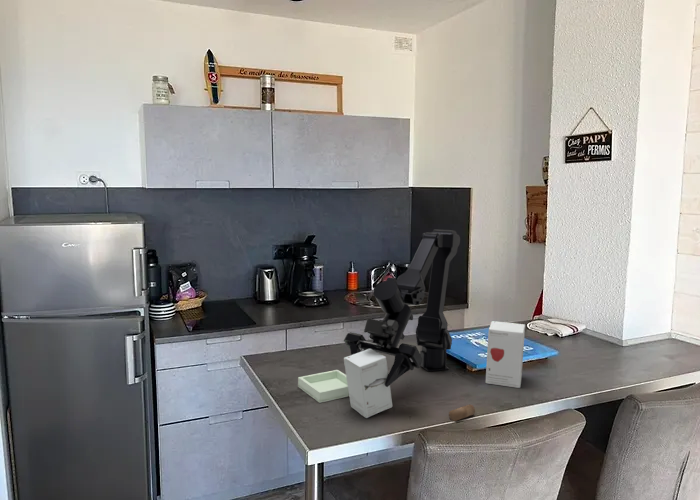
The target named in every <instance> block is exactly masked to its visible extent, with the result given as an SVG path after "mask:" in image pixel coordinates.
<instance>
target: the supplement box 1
mask: <svg viewBox="0 0 700 500" xmlns="http://www.w3.org/2000/svg"><path fill="white" fill-rule="evenodd" d="M343 363H344V364H343V365H344V370H345V371H344V372H345V374H346V377H347V384H348V391H349V396H348V397H349V402H350V407H351V408H352V409H353V410H354V411H356V412H357V413H359V415H361V416H362V417H364V418H365V419H369V418H370V417H372V416H374V415H377V414H378V413H381V412H384V411H386V410H388V409H391V408H393V400H392V391H391V385H389V386H388V387H386V386H385V382H386V379H387V376H388V374H389V370H388V369H389V368H388V362H387V356H385V355H384V354H383V353H380V352H376V351H374V350H372V349H367V350H364V351H361V352H359V353H356V354H353V355H351V354H350V355H348V356H344V357H343Z"/></svg>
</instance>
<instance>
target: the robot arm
mask: <svg viewBox="0 0 700 500" xmlns="http://www.w3.org/2000/svg"><path fill="white" fill-rule="evenodd" d="M460 243H461V237H460V235H459V234H458V233H457V231H456V230H453V229H452V230H451V229H433V230H432V231H431V232H427V231H426V232H423V233H422V235H421V237H420V243H419V245H418V248H417V250H416V251H415V254H414V255H413V258H412V259H411V262H410V264H409V266H408V268H407V270H406V271H405V272H402V274H400V275H399V276H398V277H397V279H396V278H395V277H389V276H388V277H387V278H386V280H385V281H384V280H383V281H382V282H380V283H378V284H377V285H376V286H375V287H374V289H373V296H374V298H375V300H376V302H377V303H378V305H379V307H380V308H381V311H382V312H383V313H385V315H384V316H383V319H373V318H367V319H366V323H365V325H364V329H363V332H364V333H367V334H369V336H368V337H369V338H370V340H372V341H368V340H366V338H365V336H364V335H363V334H360V333H356V332H352V331H351V332H348V333H346V335H345V338H344V339H343V342H344V343H345V345H346V346H347V347H348V350H350V356H351V355H353V354H356V353H359V352H361V351H364V350H367V349H372V350H374V351H376V352H378V353H380V354H383V355H384V354H385V355H389V356H393V357H394V361H393V364H392V365H391V369H390V370H389V371H388V376H387V379H386V382H385V386H386V387H388V386H389V385H390V386H391V385H392V384H393V383H394V382H395V381H396V380H398V379H400V377H401V376H403V375H405V374H406V373H407V372H409V371H413V370H415V368H416V369H419V368H422V369H424V370H425V371H426V372H436V371H446V370H447V371H448V370H449V367H448V366H447V350H451V349H452V345H453V339H452V335H451V334H450V332H449V330H448V325H449V324H448V321H447V318H446V316H445V314H444V309H445V308H444V307H445V303H446V302H445V301H446V292H447V285H448V277H449V271H450V264H451V261H452V260H453V258H454V257H455V256H456V255H457V253H458V249H459V248H458V247H459V246H460ZM430 268H431V270H430ZM429 270H430V279H429V287H428V293H427V299H426V300H427V301H426V309H425V311H424V312H423V314H422V315H419V316H418V318H417V326H416V328H415V338H416V343H417V345H413V344H408V343H400V341H401V340H403V341H404V339H405V334H404V332H405V329H406V327H407V324H408V323H409V321H413V320H414V314H413V311H412V309H411V308H410V306H418V305H420V304H421V303H422V301H423V300H424V298H425V295H426V294H425V292H426V286H425V280H426V276H427V275H428V272H429ZM409 305H410V306H409ZM398 346H399V347H398ZM417 346H420V347H421V350H420V351H419V349H418V348H417Z"/></svg>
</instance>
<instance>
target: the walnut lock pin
mask: <svg viewBox="0 0 700 500" xmlns="http://www.w3.org/2000/svg"><path fill="white" fill-rule="evenodd" d="M475 414H476V409H475V407H474V405H473V404H472V403H470V404H467V405H464V406H461V407H458V408H454V409H452V410H449V412H448V417H449V419H450V420H451V421H453V422H458V421H460V420H463V419H466V418H468V417H472V416H473V415H475Z"/></svg>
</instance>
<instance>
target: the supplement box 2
mask: <svg viewBox="0 0 700 500" xmlns="http://www.w3.org/2000/svg"><path fill="white" fill-rule="evenodd" d="M525 330H526V324H525V323H524V324H523V323H522V324H521V323H512V322H506V321H505V322H504V321H497V320H496V321H493V320H492V321H490V326H489V328H488V334H487V350H486V351H487V352H486V364H485V365H486V367H485V368H486V369H485V370H486V371H485V384H490V385H496V386H502V387H503V386H504V387H510V388H516V389H521V384H522V377H523V376H522V375H523V374H522V373H523V363H524V362H523V360H524V359H523V358H524V348H525V347H524V346H525V333H526V332H525Z"/></svg>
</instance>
